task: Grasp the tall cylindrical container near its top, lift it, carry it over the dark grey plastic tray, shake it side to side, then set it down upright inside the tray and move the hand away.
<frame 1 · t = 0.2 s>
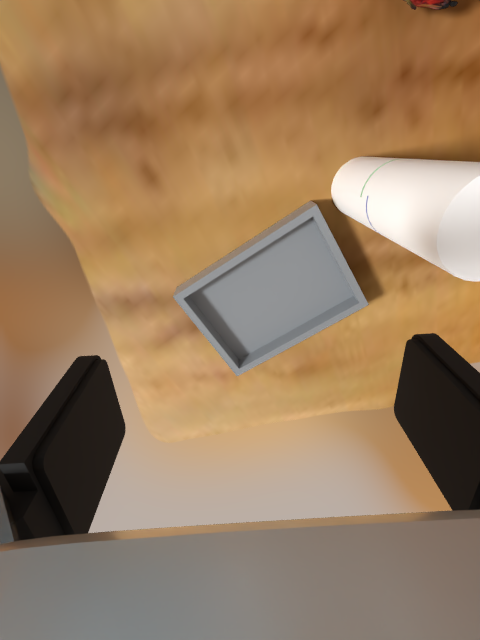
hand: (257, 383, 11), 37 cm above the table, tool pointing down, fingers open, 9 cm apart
cylindrical container: (358, 187, 43), on the table
tray: (269, 291, 49), on the table
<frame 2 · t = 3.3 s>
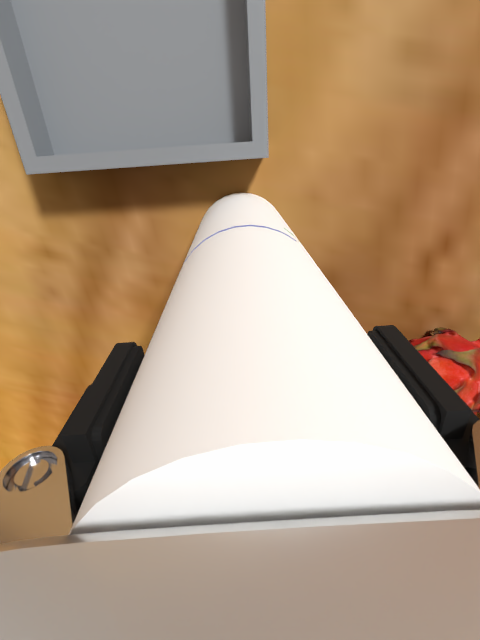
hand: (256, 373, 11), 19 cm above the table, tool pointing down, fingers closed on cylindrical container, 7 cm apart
cylindrical container: (241, 237, 28), on the table, touching gripper
dragon fruit: (417, 354, 34), on the table
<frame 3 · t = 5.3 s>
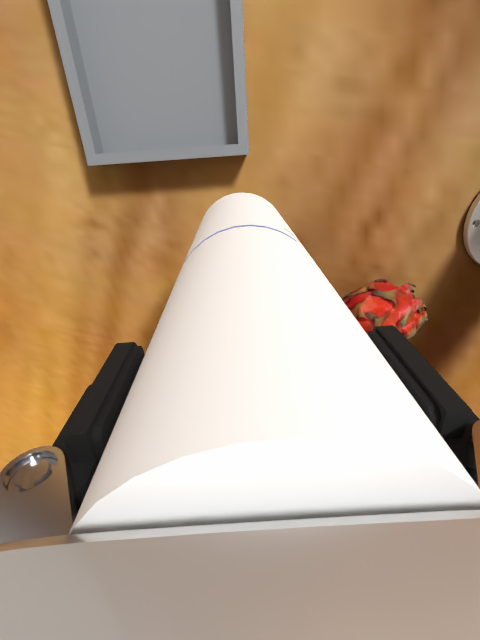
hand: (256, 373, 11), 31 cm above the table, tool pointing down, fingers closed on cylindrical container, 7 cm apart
cylindrical container: (241, 237, 28), point 12 cm above the table, touching gripper
dragon fruit: (365, 302, 45), on the table
tray: (155, 28, 31), on the table
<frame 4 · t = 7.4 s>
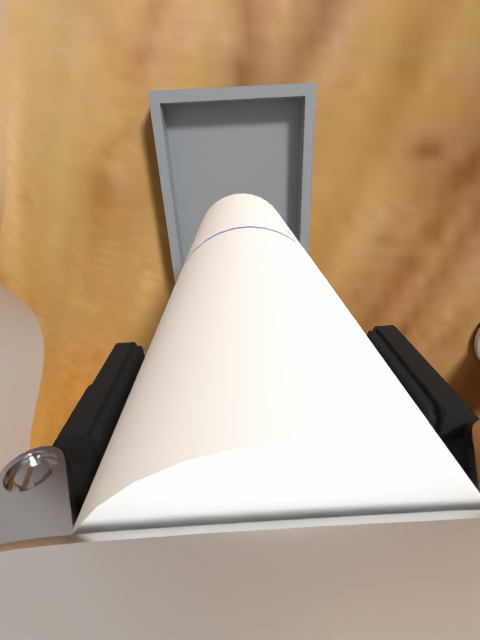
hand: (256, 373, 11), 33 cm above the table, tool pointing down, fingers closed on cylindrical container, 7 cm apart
cylindrical container: (241, 238, 28), point 14 cm above the table, touching gripper
tray: (237, 203, 40), on the table
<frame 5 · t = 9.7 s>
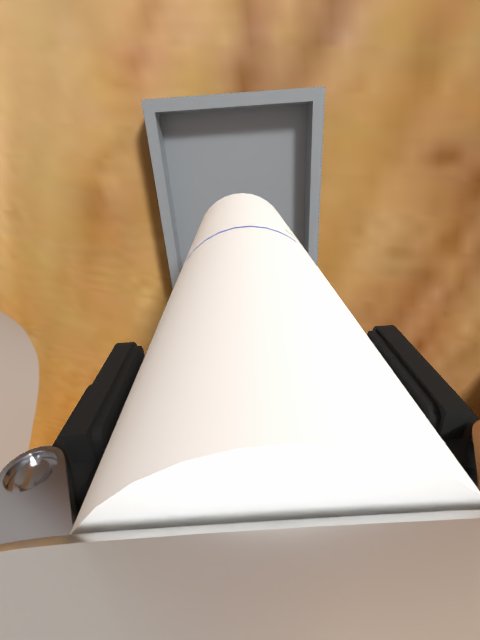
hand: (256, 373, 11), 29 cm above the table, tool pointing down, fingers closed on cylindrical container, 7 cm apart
cylindrical container: (241, 238, 28), point 10 cm above the table, touching gripper
tray: (240, 216, 37), on the table
when the fingers open (21 cm above the table, at t = 11.6 s): cylindrical container drops 1 cm, resting on tray.
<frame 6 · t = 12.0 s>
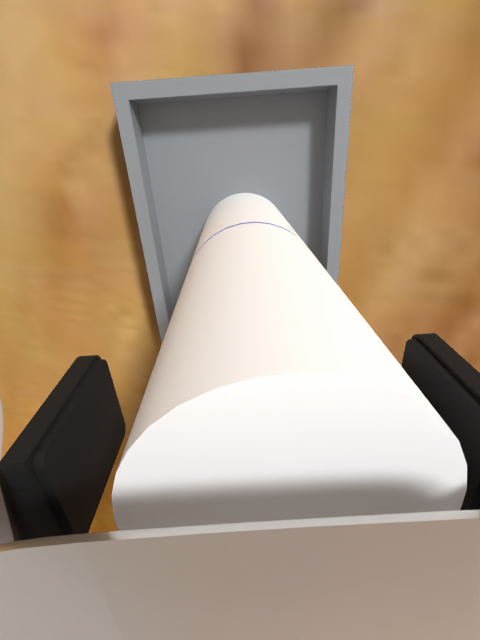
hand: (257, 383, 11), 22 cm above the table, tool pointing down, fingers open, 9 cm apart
cylindrical container: (244, 235, 29), point 1 cm above the table, touching tray
tray: (240, 231, 30), on the table
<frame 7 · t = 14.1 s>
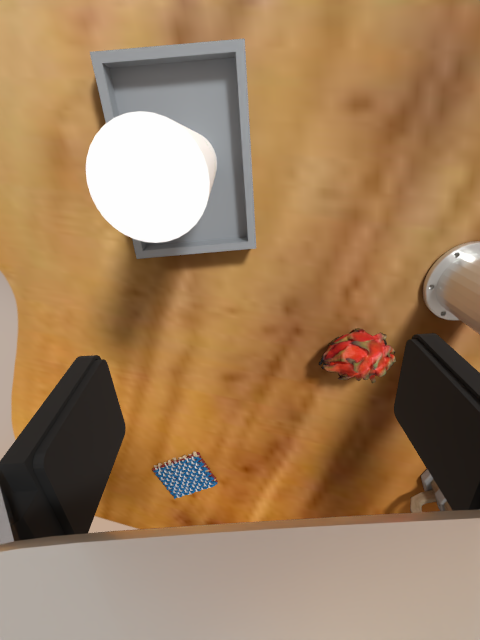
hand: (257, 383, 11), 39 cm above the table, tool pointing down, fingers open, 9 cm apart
woven mat: (185, 470, 70), on the table
cylindrical container: (188, 163, 42), point 1 cm above the table, touching tray
tankard: (433, 478, 74), on the table
dragon fruit: (348, 344, 57), on the table
tray: (186, 161, 43), on the table
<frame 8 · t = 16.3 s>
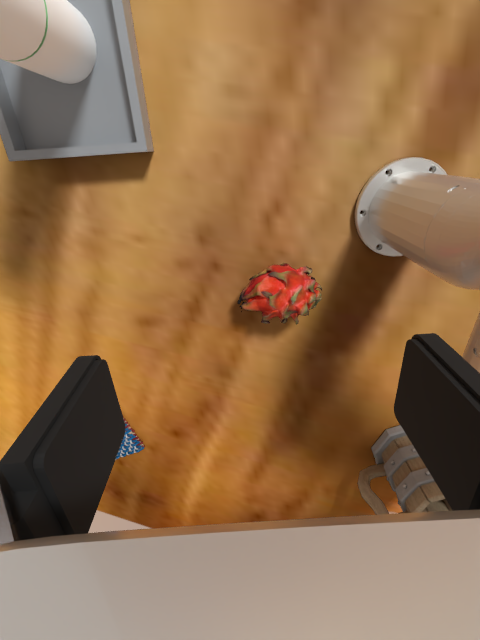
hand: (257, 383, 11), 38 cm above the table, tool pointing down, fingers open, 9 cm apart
woven mat: (110, 433, 64), on the table
cylindrical container: (63, 44, 36), point 1 cm above the table, touching tray
tankard: (386, 450, 67), on the table
dragon fruit: (276, 285, 50), on the table
tray: (62, 44, 37), on the table
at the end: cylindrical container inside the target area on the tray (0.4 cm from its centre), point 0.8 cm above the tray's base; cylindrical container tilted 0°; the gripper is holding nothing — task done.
